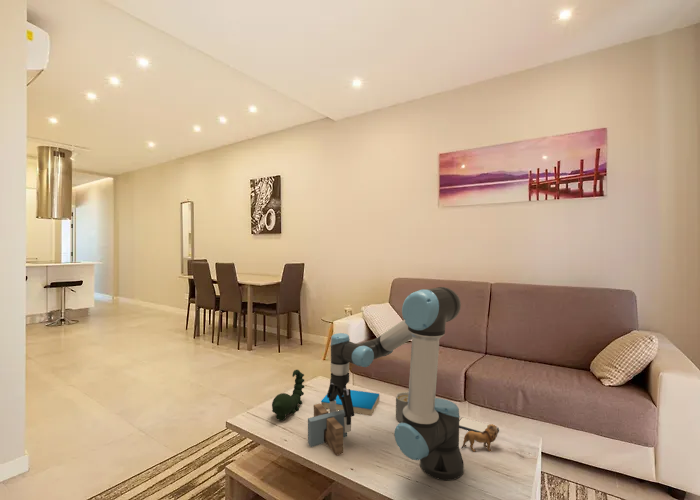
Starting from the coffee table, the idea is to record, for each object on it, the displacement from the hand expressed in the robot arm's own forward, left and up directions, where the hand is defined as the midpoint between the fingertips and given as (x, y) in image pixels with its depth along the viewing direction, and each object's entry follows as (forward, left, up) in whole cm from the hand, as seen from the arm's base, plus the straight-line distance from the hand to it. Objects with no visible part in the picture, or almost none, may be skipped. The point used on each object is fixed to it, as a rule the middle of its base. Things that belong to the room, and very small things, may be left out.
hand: (339, 423), depth 145 cm
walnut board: (0, +6, -5) cm, 8 cm away
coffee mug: (0, -34, -6) cm, 35 cm away
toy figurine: (+29, +13, -6) cm, 32 cm away
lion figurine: (-32, -44, -6) cm, 55 cm away
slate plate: (0, +5, -5) cm, 7 cm away
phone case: (-21, -55, -6) cm, 59 cm away
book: (+23, -18, -6) cm, 30 cm away
